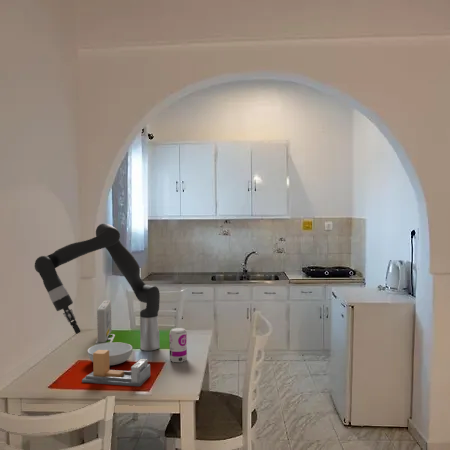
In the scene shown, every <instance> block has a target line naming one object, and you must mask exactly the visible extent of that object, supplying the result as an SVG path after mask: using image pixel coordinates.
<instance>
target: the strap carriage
mask: <svg viewBox="0 0 450 450" xmlns="http://www.w3.org/2000/svg"><path fill="white" fill-rule="evenodd" d="M92 363H93V364H92V365H93V368H92V369H93V371H92V372H93V374H94V376H109V377H122V376H123V375H124V371H125V370H120V371H117V370H118V369H116V370H115V369H110V366H109V350H97V351H96V352H94V353H93V362H92Z"/></svg>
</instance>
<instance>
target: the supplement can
mask: <svg viewBox="0 0 450 450" xmlns="http://www.w3.org/2000/svg"><path fill="white" fill-rule="evenodd" d="M168 336H169V361H170V362H171V361H172V362H171V363H174V362H181V363H184V362H186V360H187V359H188V353H187V352H188V351H187V350H188V347H187V346H188V345H187V344H188V343H187V341H188V337H187V330H186V328H184V327H173V328H171V329H170V331H169V335H168ZM183 361H184V362H183Z"/></svg>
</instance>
